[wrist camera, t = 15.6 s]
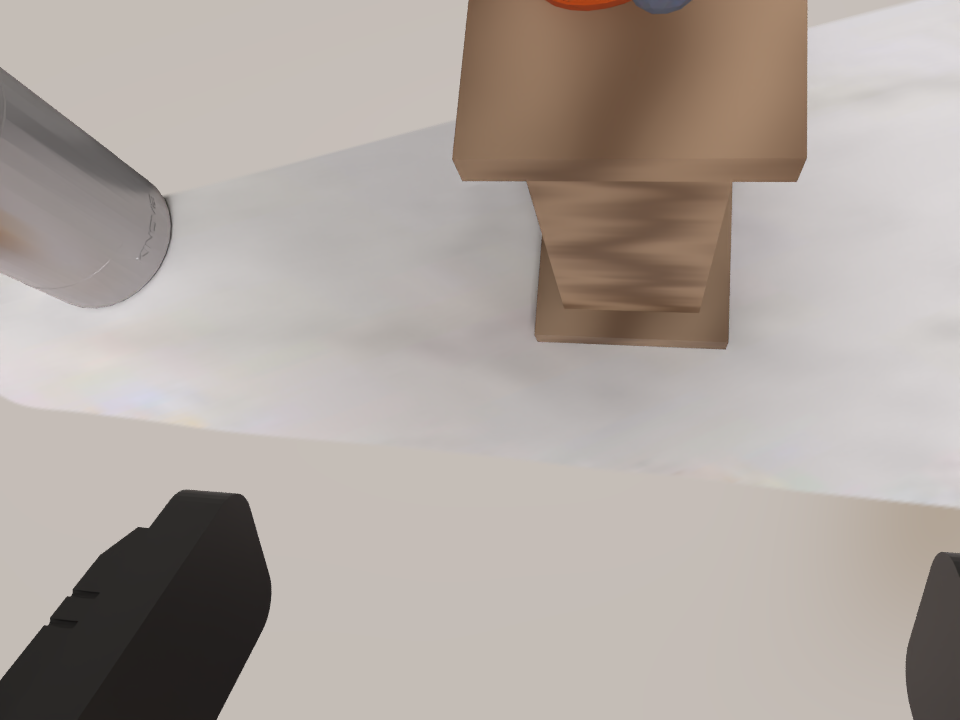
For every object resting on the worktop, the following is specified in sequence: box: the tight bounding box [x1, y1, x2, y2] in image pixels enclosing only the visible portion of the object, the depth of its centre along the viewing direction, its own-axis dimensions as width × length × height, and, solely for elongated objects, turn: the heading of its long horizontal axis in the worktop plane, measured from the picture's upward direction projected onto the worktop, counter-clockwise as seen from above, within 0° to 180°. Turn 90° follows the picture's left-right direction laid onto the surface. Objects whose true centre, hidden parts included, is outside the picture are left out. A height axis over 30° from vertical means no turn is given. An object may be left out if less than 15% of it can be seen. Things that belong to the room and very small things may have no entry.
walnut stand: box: [452, 0, 807, 349], centre depth 35 cm, size 10×11×22 cm
